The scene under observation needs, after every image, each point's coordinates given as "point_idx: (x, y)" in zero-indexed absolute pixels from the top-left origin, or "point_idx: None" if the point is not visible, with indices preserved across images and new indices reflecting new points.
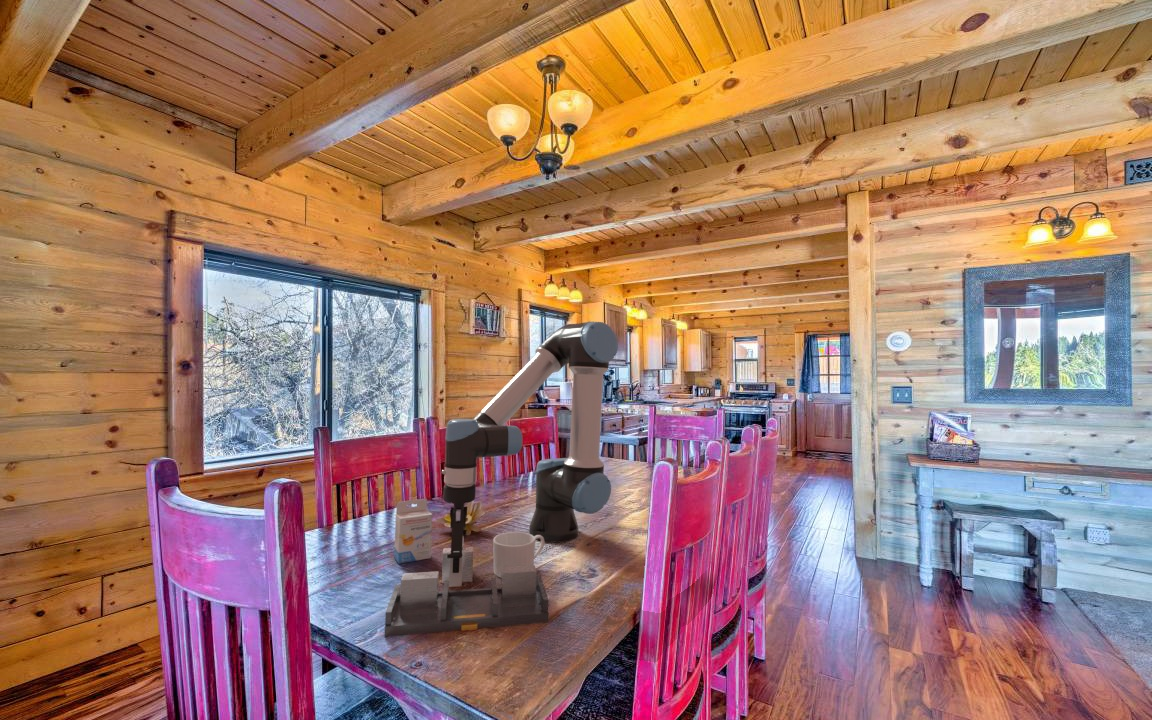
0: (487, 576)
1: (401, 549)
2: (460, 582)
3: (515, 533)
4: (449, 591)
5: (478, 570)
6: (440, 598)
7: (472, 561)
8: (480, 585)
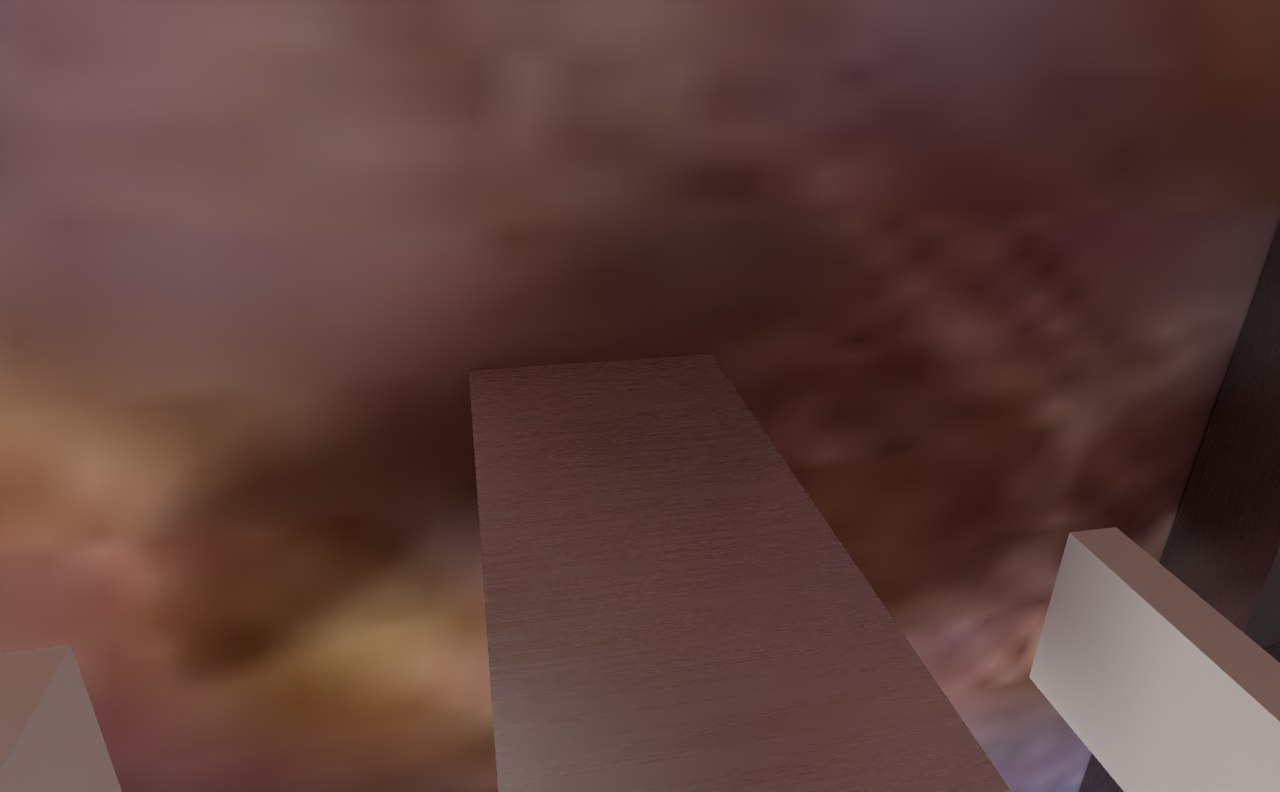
0: (546, 68)
1: None
2: (1154, 574)
3: None
4: None
5: (208, 268)
6: None
7: (855, 575)
8: (910, 209)
